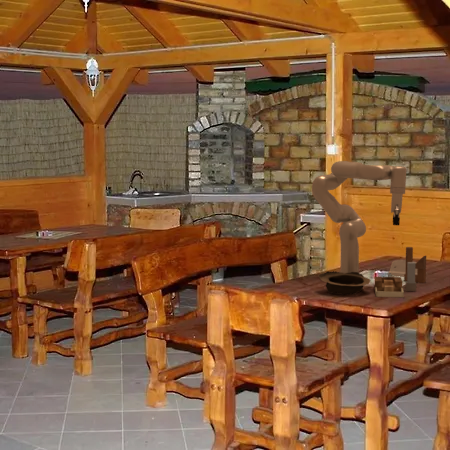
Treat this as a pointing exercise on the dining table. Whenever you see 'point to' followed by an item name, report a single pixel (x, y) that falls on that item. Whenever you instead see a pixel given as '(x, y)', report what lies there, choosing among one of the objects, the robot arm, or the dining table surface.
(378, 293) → the tray
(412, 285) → the square grey bottle
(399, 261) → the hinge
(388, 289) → the birch block
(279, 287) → the dining table surface
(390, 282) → the oak block
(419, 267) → the tan angled rod fixture
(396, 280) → the groove board
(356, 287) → the stone bowl
